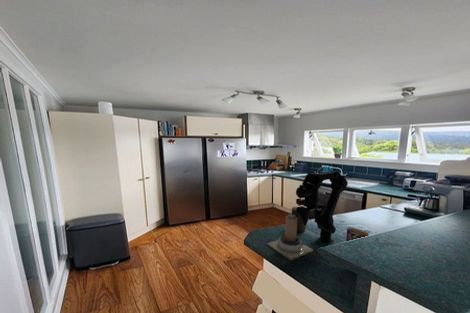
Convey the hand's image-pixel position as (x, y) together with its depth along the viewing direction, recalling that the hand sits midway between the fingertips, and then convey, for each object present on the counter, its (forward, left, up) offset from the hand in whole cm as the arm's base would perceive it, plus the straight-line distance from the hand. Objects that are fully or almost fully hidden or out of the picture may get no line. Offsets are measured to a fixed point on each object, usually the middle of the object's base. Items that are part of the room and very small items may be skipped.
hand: (310, 223), depth 114 cm
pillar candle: (-13, -19, -13) cm, 27 cm away
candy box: (-10, +20, -13) cm, 26 cm away
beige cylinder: (+11, -4, -9) cm, 15 cm away
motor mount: (+11, -4, -13) cm, 17 cm away
